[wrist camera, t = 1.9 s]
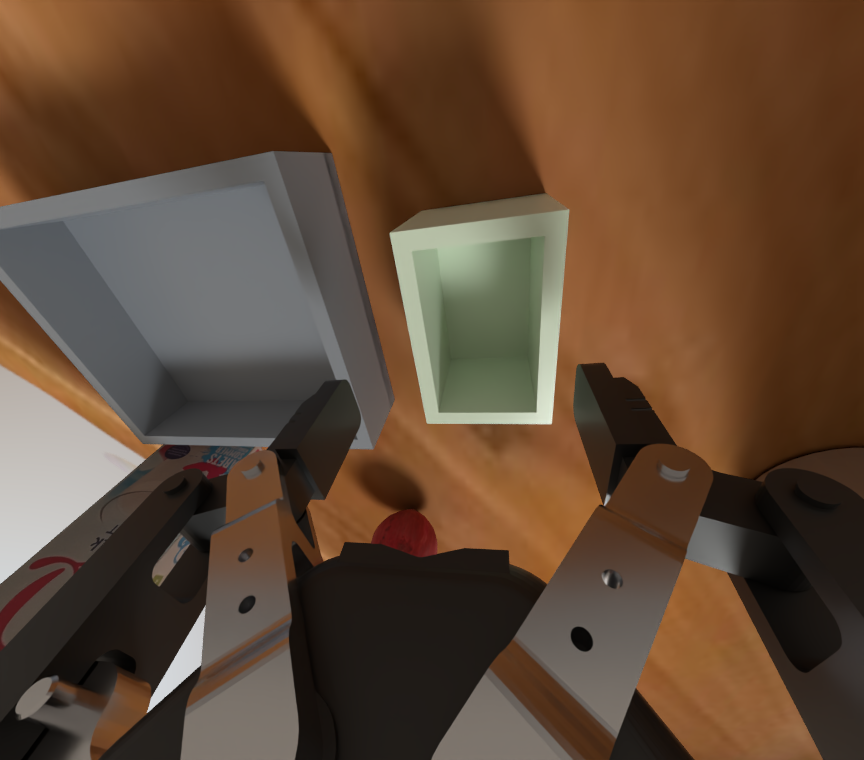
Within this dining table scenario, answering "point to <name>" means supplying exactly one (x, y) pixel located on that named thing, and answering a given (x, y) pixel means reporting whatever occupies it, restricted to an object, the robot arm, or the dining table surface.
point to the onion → (407, 533)
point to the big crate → (204, 296)
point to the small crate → (484, 307)
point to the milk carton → (106, 531)
